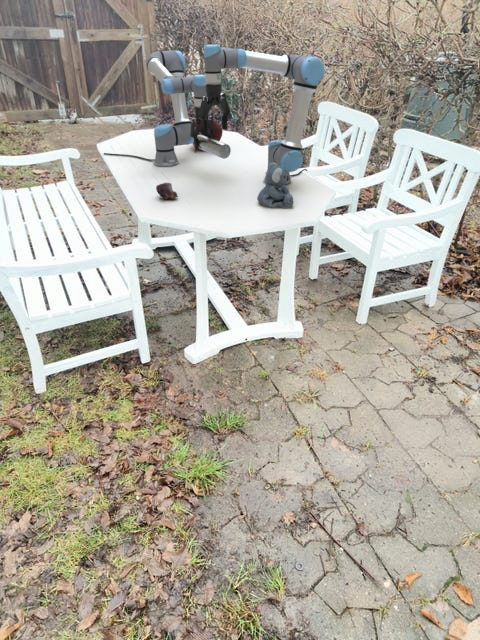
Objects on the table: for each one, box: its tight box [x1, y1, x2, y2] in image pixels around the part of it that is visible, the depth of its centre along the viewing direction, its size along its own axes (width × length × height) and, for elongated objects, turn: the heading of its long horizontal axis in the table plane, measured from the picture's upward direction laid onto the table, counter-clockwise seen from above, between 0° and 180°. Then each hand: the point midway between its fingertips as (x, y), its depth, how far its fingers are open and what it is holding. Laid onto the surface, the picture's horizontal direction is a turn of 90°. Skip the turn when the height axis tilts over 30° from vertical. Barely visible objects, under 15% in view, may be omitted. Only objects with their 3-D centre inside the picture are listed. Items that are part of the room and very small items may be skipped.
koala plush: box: [256, 163, 294, 209], centre depth 226 cm, size 17×18×20 cm
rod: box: [194, 135, 232, 160], centre depth 256 cm, size 27×8×8 cm, turn 35°
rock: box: [155, 182, 178, 200], centre depth 237 cm, size 12×9×10 cm
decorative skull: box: [192, 119, 224, 153], centre depth 321 cm, size 21×24×25 cm
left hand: (203, 148), depth 264 cm, fingers closed on rod, 8 cm apart
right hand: (215, 131), depth 222 cm, fingers open, 13 cm apart
